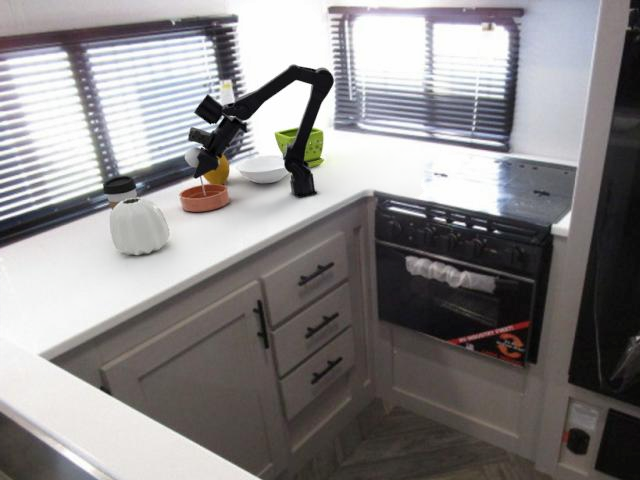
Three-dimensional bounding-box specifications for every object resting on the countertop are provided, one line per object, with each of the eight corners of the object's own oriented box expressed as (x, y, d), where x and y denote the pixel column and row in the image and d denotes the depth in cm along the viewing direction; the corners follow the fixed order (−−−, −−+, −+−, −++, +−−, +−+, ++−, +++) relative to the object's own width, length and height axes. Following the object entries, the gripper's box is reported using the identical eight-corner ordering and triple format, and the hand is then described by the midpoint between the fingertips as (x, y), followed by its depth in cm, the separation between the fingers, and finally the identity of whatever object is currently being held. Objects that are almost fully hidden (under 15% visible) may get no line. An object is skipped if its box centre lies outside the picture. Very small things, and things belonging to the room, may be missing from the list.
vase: (118, 264, 143) (101, 214, 136) (117, 245, 154) (102, 197, 148) (175, 252, 148) (162, 203, 141) (170, 234, 159) (158, 188, 152)
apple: (210, 180, 203) (202, 147, 197) (236, 179, 202) (229, 145, 196) (199, 188, 195) (191, 154, 189) (227, 188, 194) (219, 153, 188)
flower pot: (312, 158, 221) (307, 124, 215) (328, 165, 210) (324, 130, 204) (278, 165, 214) (272, 131, 208) (293, 173, 204) (288, 137, 198)
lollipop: (197, 200, 174) (185, 151, 167) (192, 195, 179) (180, 147, 171) (217, 195, 177) (206, 147, 170) (212, 190, 181) (201, 143, 174)
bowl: (306, 181, 195) (304, 162, 192) (251, 194, 186) (248, 175, 183) (282, 169, 210) (280, 152, 207) (230, 181, 200) (227, 163, 197)
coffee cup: (155, 226, 165) (140, 176, 158) (134, 238, 158) (118, 185, 151) (132, 224, 168) (116, 174, 160) (110, 236, 161) (93, 184, 153)
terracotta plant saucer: (223, 194, 188) (220, 181, 186) (235, 206, 177) (232, 192, 175) (178, 204, 182) (174, 190, 180) (188, 216, 171) (184, 202, 169)
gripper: (203, 111, 175) (175, 151, 179) (196, 123, 159) (166, 167, 163) (235, 134, 180) (207, 173, 184) (231, 148, 164) (201, 190, 168)
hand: (195, 175), depth 174 cm, fingers closed on lollipop, 5 cm apart
